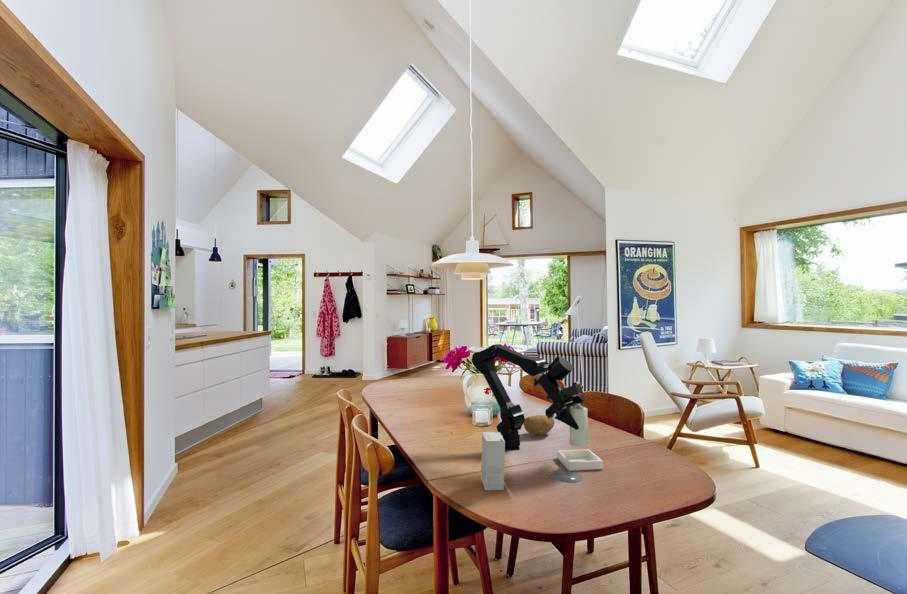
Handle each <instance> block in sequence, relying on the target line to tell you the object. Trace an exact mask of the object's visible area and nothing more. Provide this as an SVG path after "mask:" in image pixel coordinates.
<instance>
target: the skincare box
mask: <svg viewBox="0 0 907 594" xmlns="http://www.w3.org/2000/svg"><path fill="white" fill-rule="evenodd" d="M505 454H506V450H505V441H504V439H503V436H502V435H501V434H500V432H498V431H493V432H492V431H490V432H489V431H488V432H487V431H483V432H481V460H480V461H481V465H480V466H481V467H480V480H481V482H482V484H483V488H484V491H505V463H506V462H505V456H506V455H505Z"/></svg>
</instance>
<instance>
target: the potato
mask: <svg viewBox="0 0 907 594" xmlns="http://www.w3.org/2000/svg"><path fill="white" fill-rule="evenodd" d="M554 418H555V417H553V418H550V419H548V417H547V416H546V414H541V415H539V414H538V415H530V416H527V417H525V421H524V424H523V427H524V430H525V431H526V432H527V433H528V434H531V435H533V436H537V437H538V436H540V437H542V436H545V435H546V434H548V433H549V432H550V431H551V430H552V429H553V428H554V426H555V419H554Z"/></svg>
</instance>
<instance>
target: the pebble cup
mask: <svg viewBox="0 0 907 594" xmlns="http://www.w3.org/2000/svg"><path fill="white" fill-rule="evenodd" d="M570 414H571V415H572V417H573V418H574V420H575V422H576V423H577V425H578V427H579V429H578V430H576V429H574V428H572V427H571V426H569V445H570V446H572V447H574V448H575V447H577V448H585V447H588V408H587V407H585V406H583V405H582V406H581V405H580V404H579V403H578V404H576V406H572V407H570Z"/></svg>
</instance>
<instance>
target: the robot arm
mask: <svg viewBox="0 0 907 594" xmlns="http://www.w3.org/2000/svg"><path fill="white" fill-rule="evenodd" d="M471 357H472V358H471V360H470V361H471V363H472V366H473V367H474V368H475V369H476V370H477V371H478V372H479V373H481V375H483V376H484V379H485V381H486V383H487V385H488V387H489V389H490V391H491V392H492V394H493V397H494V398H495V400H496V402H497V404H498V406H499V408H500V409H499V411H500V412H499V414H500V415H499V416H500V419H501V421H500V422H499V423H498V424H497V425H496V430H497V431H496V432H500V434H501V435H502V436H503V439H504V441H505V451H510V450H511V451H513V450H520V449H521V448H520V446H521V435H520V433H519V431H520V430H522V427H523V426H524V421H525V418H526V417H525V412H524V411H523V410H522V407H521V405H520V404H515V403H513V402H512V399H511V398H510V396H509V394H508V392H507V390H506V389H505V387H504V385H503V383H502V381H501V379H500V377H499V375H498V373H497V371H496V367H495V366H496V362H495V359H497V358H501V359H503V360H505V361H506V362H509V363H511V364H514V365H516V366H518V367H519V368H521V370H522V371H523V372H525V374H527V375H528V376H531V377H535V376H539V377H536V378H534V380H533V387H539V386H540V387H541V389H542V390H543V391H544V393H545V394H546V395H547V396H546V397H545V398H546V399H547V400H550V401H551V402H552V403H551V404H550V405H549V407H548V408H546V409H545V414H544V415H546V416H547V417H548V419H550V418H554V420H558V421H560V422H562V423H564V424H565V425H567V426H569V427H570V426H571V427H572V428H574V429H576V430H578V429H579V427H578V425H577V423H576V422H575V420H574V418H573V417H572V415H571V414H570V407H572V406H576V404H578V403H579V404H580V405H581V406H582V407H583V404H584V402H585V401H587V398H586V397H585V396H584V394H583V393H584V391H583V390H584V389H583V388H584V385H582V383H580V382H579V381H575V382H572V383H571V386H568V387H567V386H565V385H564V384H563V385H561V384H560V383H559V382H560V381H563V380H564V379H565V378H566V377H567V376H568V375H569V374H571V372H572V371H573V370H574V366H573V364H572V362H570V361H568V360H567V359H566V358H564V357H562V356H561V355H557V356H556V357H555V358H554V359H553V361H552V362H551V363H550V362H547V361H546V360H545V359H544V358H540V357H537V356H536V357H535V356H528V355H524V354H523V353H520V352H518V351H516V350H513V349H511V348H509V347H506V346H504V345H502V344H501V343H497V344H492V345H490V346H489V347H487V348H485V349H482V350H481V351H475V352H474V353H473V354H472V356H471ZM558 381H559V382H558Z"/></svg>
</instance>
